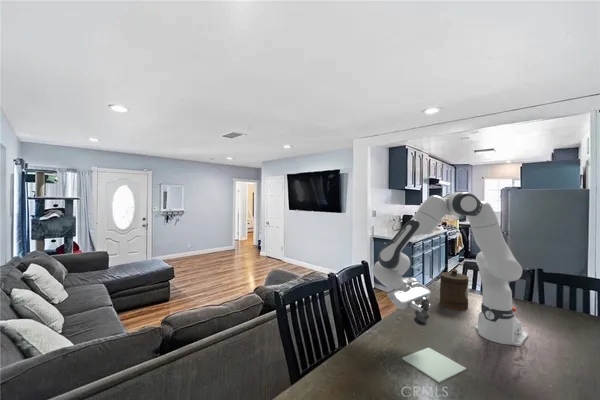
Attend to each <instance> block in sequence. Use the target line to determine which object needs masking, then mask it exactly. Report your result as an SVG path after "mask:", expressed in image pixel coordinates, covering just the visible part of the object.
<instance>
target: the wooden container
mask: <svg viewBox="0 0 600 400" xmlns="http://www.w3.org/2000/svg"><path fill="white" fill-rule="evenodd" d="M439 282H440V287H439V304H440V305H441V306H442V307H444V308H447V309H450V310H453V311H466V310H468V309H469V276H468V275H466V274H464V273H459V272H458V270H457V269H456V268H452V269H450V271H447V272H445V271H444V272H441V273H440V281H439Z"/></svg>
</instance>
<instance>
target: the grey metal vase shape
mask: <svg viewBox="0 0 600 400" xmlns="http://www.w3.org/2000/svg"><path fill="white" fill-rule="evenodd" d="M429 304H430V301H429V299H427V298H426V299H423V300H422V302H421V304H420V305H421V306H422V307H423V311H421V312H419V311H418V310H417V309H415V312H414V314H415V317H413V320H414V322H415V323H416V325H419V326H421V327H426V326H428V322H427V321H429V320H430V319H431V317H430V315H429V313H428V311H429V309H430V308H429Z"/></svg>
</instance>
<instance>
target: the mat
mask: <svg viewBox="0 0 600 400" xmlns="http://www.w3.org/2000/svg"><path fill="white" fill-rule="evenodd" d="M401 359H402V360H403V361H405V362H406V363H407V364H409V365H411V366H412V367H414V368H415V369H417V370H418V371H420V372H422V373H423V374H424V375H426V376H427V377H429V378H431V379H432V380H434V381H435V382H436V383H438V384H440V383H443V382H444V381H446V380H448V379H450V378H452V377H454V376H456V375H458V374H460V373H462V372H464V371H466V370H467V367H465V366H463V365H461V364H460V363H458V362H456V361H454V360H452V359H451V358H449V357H447V356H445V355H443V354H442V353H440V352H437V351H436V350H434V349H432V348H430V347H426V348H424V349H420V350H418V351H416V352H413V353H411V354H408V355H406V356H403V357H402V358H401Z"/></svg>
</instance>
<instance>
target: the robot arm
mask: <svg viewBox="0 0 600 400" xmlns="http://www.w3.org/2000/svg"><path fill="white" fill-rule="evenodd" d="M446 215H449V216H457V217H459V216H460V217H461V216H464V217H466V218H467V220H468V221H469V226H470V228H471V232H472V235H473V239H474V241H475V243H476V246H478V248H479V250H480V252H478V253H476V257H475V262H476V265H477V267H478V271H479V277H480V281H481V286H482V287H481V288H482V289H481V290H482V291H481V292H482V302H481V304H480V305H481V306H480V310H481V311H480V312H479V313H478V316H477V317H478V319H477V325H475V326H474V329H475V330H476V331H477V333H478V335H479V336H481V337H482V338H484V339H486V340H487V341H491V342H494V343H496V344H502V345H509V346H510V345H512V346H517V347H522V345H523V344H524V343H525V341H526V340H527V338H528V337H529V333H527V332H525V331H524V330H522V329H523V328H522V321H520V320H519V319H517V317H515V313H516V312H517V307H514V306H513V305H512V304H513V293H512V292H513V291H512V289H511V287H510V284H509V282H515V281H517V280H519V279H520V278H521V277H522V275H523V268H522V265H521V264H520V263H519V262H518V261H517V258H515V256H514V254H513V252H512V250H511V249H510V247H509V246H508V243H507V242H506V240H505V238H504V235H503V233H502V229H501V226H500V223H499V221H498V218H497V216H496V214H495V211H494V209H493V207H492V206H491V204H490V203H489V202H487V201H484V200H479V198H478V197H477V196H476V195H474V194H473V193H471V192H468V191H462V192H461V191H456V192H453V193H448V194H446V195H444V196H439V195H436V194H433V195H429V197H428V198H426V199H425V200H424V202H423V203H422V204H421V205H420V207H419V208H418V209H417V211H416V212H415V213H414V215H413V216H412V217H411V219H409V220H408V221H407V222H405V223H404V224H403V226H402V227H401V228H400V229H399V230H398V231H397V233H395V235H394V237H393V238H391V240H390V241H389V242H388V243H387V244H386V245H384V246H383V247H382V248H381V249H380V250H379V252H378V254H377V255H378V256H377V259H378V261H376V262H375V263H374V265H373V267H372V273H373V276H374V278H376V280H378V282H380V283H381V285H383V286H384V287H387V289H388V291H387V292H386V296H387V298H388V299H389V300H390V302H392V303H393V305H394V306H395V307H396V308H397V309H399V310H405V309H407V308H409V307H411V308H412V309H415V310H418V311H419V312H421V311H423V307H422V306H421V304H419V305H418V303H420V302H421V303H422V300H423V299H426V298H427V300H429V298H430V297H431V295H432V292H431V290H430V289H429V288H428V287H426V286H425V285H424V284H423V283H421V282H419V281H418V280H417V278H415V277H403V276H404V275H405V274H406V272H408V271H409V269H410V268H411V259H410V257H409V256H408V255H407V254H405V253H404V252H402V251H403V249H404V248H405V247H406V246H407V245H408V243H409V242H410V241H411V239H413V238H414V237H416V236H420V235H421V236H422V235H423V236H425V235H426V236H427V235H430V234H432V233H433V232H434V231H435V230H436V229H437V227H438V226H439V224H440V222H441V221H442V220H443V218H444V217H445V216H446ZM431 306H432V305H431V303H429V309H430V308H431Z"/></svg>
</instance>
